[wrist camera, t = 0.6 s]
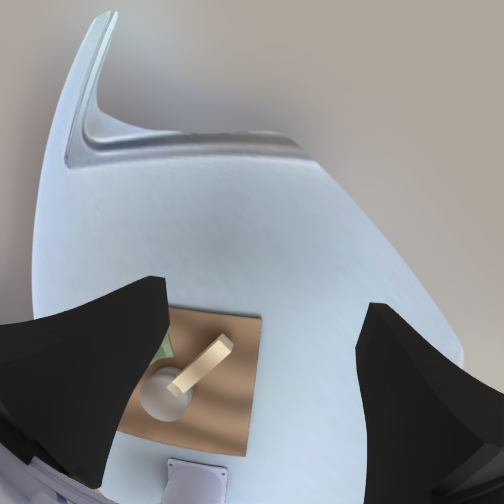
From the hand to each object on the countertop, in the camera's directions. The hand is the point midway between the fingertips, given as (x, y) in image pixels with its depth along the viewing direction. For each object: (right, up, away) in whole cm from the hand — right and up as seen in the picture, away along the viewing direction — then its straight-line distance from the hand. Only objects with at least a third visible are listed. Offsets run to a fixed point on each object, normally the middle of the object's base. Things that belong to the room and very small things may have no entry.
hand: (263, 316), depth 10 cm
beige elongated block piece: (-7, -11, +19) cm, 23 cm away
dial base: (-9, -13, +20) cm, 26 cm away
